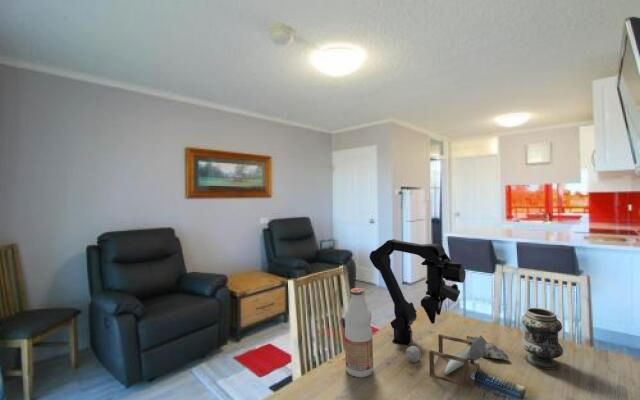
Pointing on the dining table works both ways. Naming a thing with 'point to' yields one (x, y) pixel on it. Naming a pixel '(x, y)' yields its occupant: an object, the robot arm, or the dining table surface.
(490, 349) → the mineral rock
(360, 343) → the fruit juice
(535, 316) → the apothecary jar
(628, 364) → the dining table surface
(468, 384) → the stand
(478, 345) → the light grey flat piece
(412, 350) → the garlic
